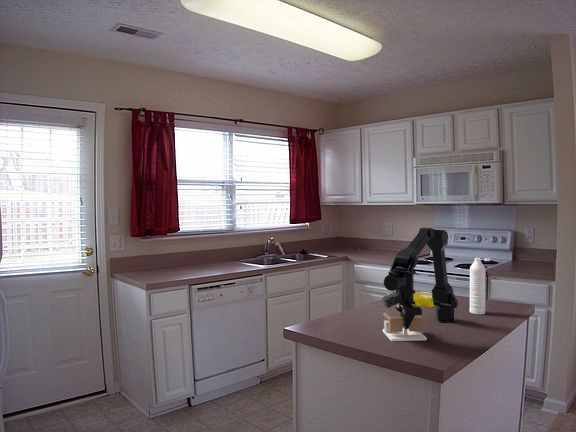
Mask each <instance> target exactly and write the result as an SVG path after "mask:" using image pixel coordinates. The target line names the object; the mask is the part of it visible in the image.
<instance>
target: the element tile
mask: <svg viewBox="0 0 576 432" xmlns="http://www.w3.org/2000/svg"><path fill="white" fill-rule="evenodd" d="M414 301H415V304H412V305H417V306H419V307H426V308H427V307H428V308H437V305H434V304H433V298H432V292H427V291H418V290H415V293H414Z"/></svg>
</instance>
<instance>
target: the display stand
mask: <svg viewBox="0 0 576 432" xmlns="http://www.w3.org/2000/svg"><path fill="white" fill-rule="evenodd" d="M382 332H383V334H384V335H385V336H386V337H387V338H388V339H389V340H390V341H391V342H409V341H411V342H412V341H415V342H416V341H419V342H420V341H427V340H428V338H427V336H426V335H424V333H422V331H409V330H408V329H405V327H403V332H390V331H389V320H388V319H387V320H386V319H385V320H383V328H382Z"/></svg>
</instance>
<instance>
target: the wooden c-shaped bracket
mask: <svg viewBox="0 0 576 432" xmlns="http://www.w3.org/2000/svg"><path fill="white" fill-rule="evenodd" d="M382 316H383V317H385V318H386V319H387V320H389V331H390V332H403V328H404V327H403V324H404V320H403V317H401V316H399V317H398V316H395V317H394V316H393V317H392V316H390V314H388V313H387V312H383V313H382ZM408 330H409V331H420V332H423V317H422V316H421V315H415V317H414V318H413V320H412V322H411V324H410V326H409V328H408Z"/></svg>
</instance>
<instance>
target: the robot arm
mask: <svg viewBox="0 0 576 432" xmlns="http://www.w3.org/2000/svg"><path fill="white" fill-rule="evenodd" d="M448 243H449V233H448V232H447V231H446V230H445V229H437V228H436V229H435V228H432V227H420V228H419V230H418V233H417V234H416V235H415V237H414V238H413V239H412V241H411V242H410V243H409V245H407V247H406V248H403V249H400V251H398V252H397V253H396V254H395V256H394V259H393V261H392V263H391V266H390V269H389V271H388V275H385V277H384V279H383V286H384V288H385V289H386V290H388V291H390V292H393V291H395V292H393V293H390V294H387V295H385V296H382V297H381V299H382V302H383V305H384V307H385V308H386V309H389V308H392V307H393V306H395V305H396V306H395V307H394V309H395V310H396V311H397V312H398V313H399V317H403V320H404V324H403V328H404V327H405V329H408V328H409V326H410V324H411V322H412V320H413V318H414V317H415V315H418V316H423V309H422V308H421V306H417V305H412V304H415V301H414V293H415V291H416V289H414V281H415V280H414V275H415V274H417V271H416V270H414V269H415V268H416V267H417V264H418V263H419V255H420V254H421V252H422V251H423V250H424V248H425V247H426V246H428V248H429V250H431V253H432V254H431V255H432V261H433V270H434V281H435V285H434V286H433V288H432V289H431V293H432V298H433V304H434V305H437V306H436V308H435V319H436V320H437V321H438V322H441V323H456V322H457V320H456V319H455V309H457V308H458V305H459V301H458V298H457V297H456V295H455V293H454V289H453V287H452V285H451V284H450V282H449V281H448V270H447V261H446V251H445V249H446V247H447V245H448Z"/></svg>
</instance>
